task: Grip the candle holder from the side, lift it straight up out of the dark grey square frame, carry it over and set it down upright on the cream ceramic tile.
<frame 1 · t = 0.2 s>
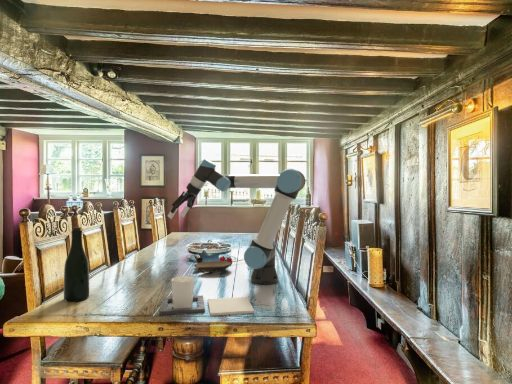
hand: (175, 216, 192), 35 cm above the table, tool tilted 35°, fingers open, 13 cm apart
dark grey square frame: (182, 306, 149), on the table
broken bowl: (211, 270, 215), on the table
dark wine bottle: (76, 299, 158), on the table
candle holder: (182, 306, 149), resting in dark grey square frame
glasses: (234, 262, 240), on the table
cream tile: (229, 306, 149), on the table
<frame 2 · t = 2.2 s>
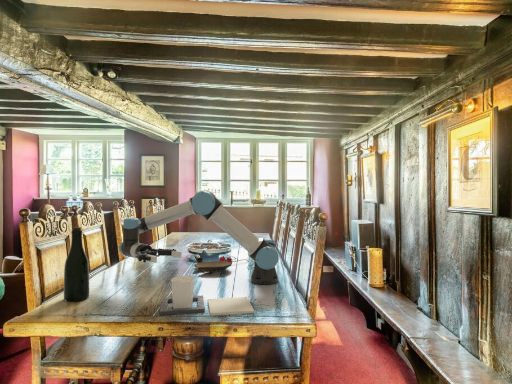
hand: (169, 257, 155), 20 cm above the table, tool horizontal, fingers open, 13 cm apart
nothing on the table moved.
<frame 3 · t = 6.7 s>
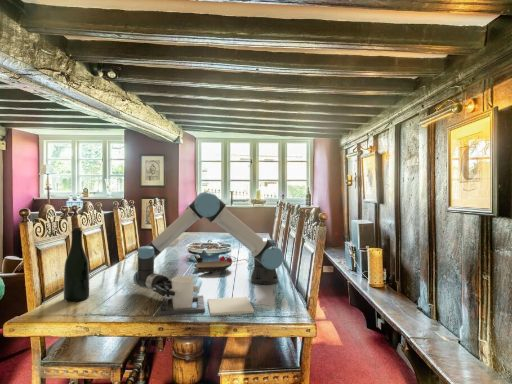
hand: (189, 292, 146), 7 cm above the table, tool horizontal, fingers closed on candle holder, 9 cm apart
candle holder: (182, 306, 149), resting in dark grey square frame, touching gripper
everything else where it was.
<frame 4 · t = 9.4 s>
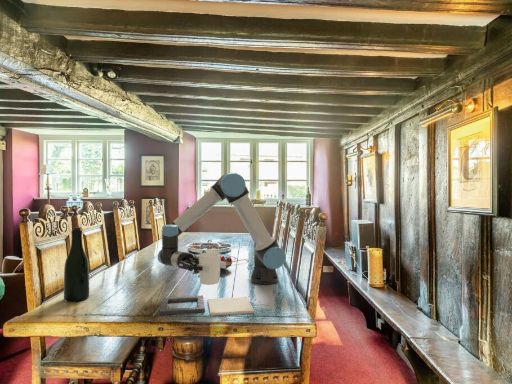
hand: (217, 267, 146), 18 cm above the table, tool horizontal, fingers closed on candle holder, 9 cm apart
candle holder: (209, 282, 149), point 11 cm above the table, touching gripper
everything else where it was.
when the fingers open (9 cm above the table, at t = 12.6 s): candle holder drops 1 cm, resting on cream tile.
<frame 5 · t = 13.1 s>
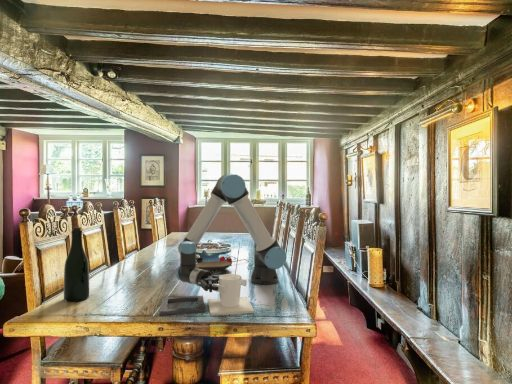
hand: (235, 286, 147), 9 cm above the table, tool horizontal, fingers open, 13 cm apart
candle holder: (229, 304, 149), point 1 cm above the table, touching cream tile
everything else where it was.
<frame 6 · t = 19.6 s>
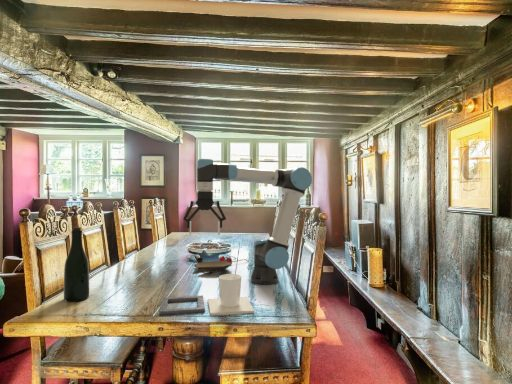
hand: (204, 234, 167), 29 cm above the table, tool pointing down, fingers open, 13 cm apart
nothing on the table moved.
at the end: candle holder inside the target area on the cream tile (0.1 cm from its centre), point 0.8 cm above the cream tile's base; candle holder tilted 0°; the gripper is holding nothing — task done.
